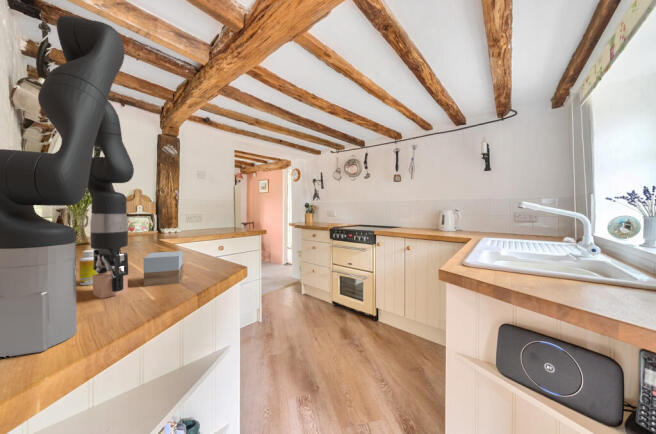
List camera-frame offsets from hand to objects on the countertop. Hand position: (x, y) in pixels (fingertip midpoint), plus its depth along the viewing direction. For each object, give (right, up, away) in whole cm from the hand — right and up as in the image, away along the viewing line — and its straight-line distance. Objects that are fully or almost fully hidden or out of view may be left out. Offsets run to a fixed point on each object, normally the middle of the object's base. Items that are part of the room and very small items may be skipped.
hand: (110, 288), depth 64 cm
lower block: (+7, -1, +12) cm, 14 cm away
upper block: (+7, +3, +12) cm, 14 cm away
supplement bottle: (-13, -1, +8) cm, 16 cm away
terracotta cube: (0, -2, 0) cm, 2 cm away
